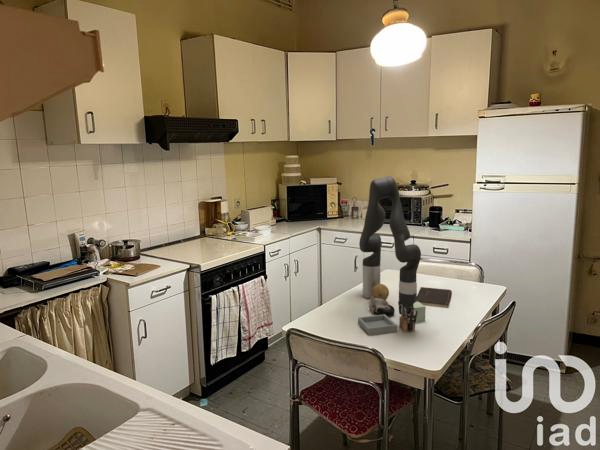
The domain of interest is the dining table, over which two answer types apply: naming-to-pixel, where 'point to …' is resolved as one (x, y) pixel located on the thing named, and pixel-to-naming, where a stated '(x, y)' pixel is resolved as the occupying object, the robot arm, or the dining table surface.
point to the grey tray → (377, 324)
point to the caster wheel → (381, 307)
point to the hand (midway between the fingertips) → (407, 327)
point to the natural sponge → (380, 291)
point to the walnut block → (404, 323)
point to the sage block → (419, 311)
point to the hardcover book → (434, 297)
